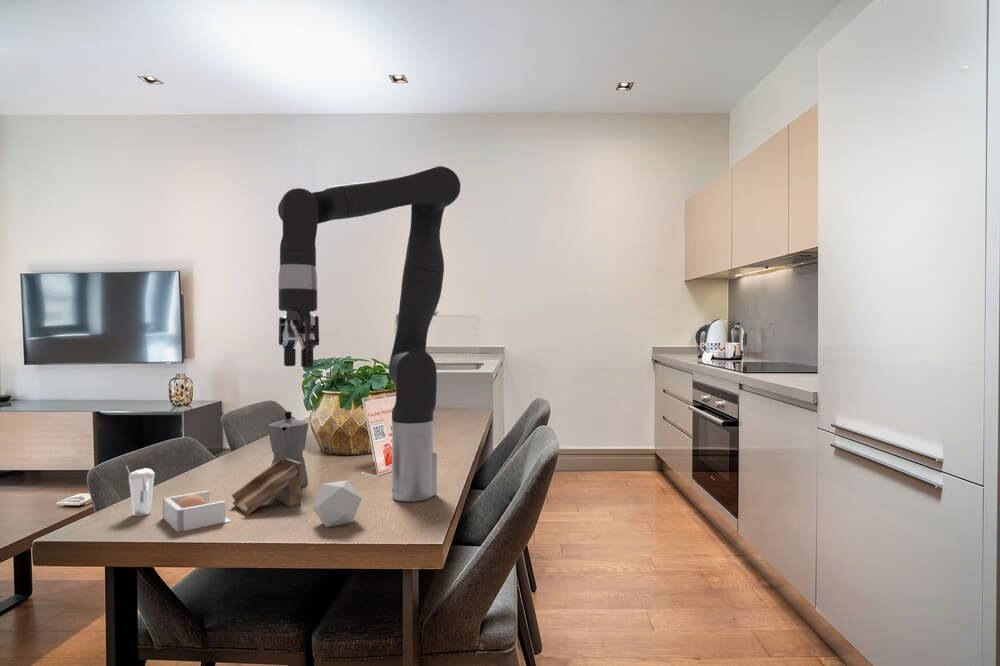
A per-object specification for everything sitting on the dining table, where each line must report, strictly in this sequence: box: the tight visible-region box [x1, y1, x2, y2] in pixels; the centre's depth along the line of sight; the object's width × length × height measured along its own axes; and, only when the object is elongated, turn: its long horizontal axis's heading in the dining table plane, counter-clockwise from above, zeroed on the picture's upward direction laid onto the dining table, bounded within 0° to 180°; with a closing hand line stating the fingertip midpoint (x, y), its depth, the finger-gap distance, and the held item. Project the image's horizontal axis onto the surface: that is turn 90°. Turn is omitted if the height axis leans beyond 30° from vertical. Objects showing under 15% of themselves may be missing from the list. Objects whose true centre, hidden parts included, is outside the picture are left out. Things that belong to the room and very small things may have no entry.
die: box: [312, 480, 362, 528], centre depth 112 cm, size 8×9×10 cm
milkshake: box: [125, 465, 155, 517], centre depth 118 cm, size 4×5×10 cm
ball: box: [178, 495, 206, 508], centre depth 113 cm, size 5×5×5 cm
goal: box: [162, 490, 227, 533], centre depth 114 cm, size 8×11×4 cm
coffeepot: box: [267, 410, 309, 488], centre depth 141 cm, size 15×9×18 cm, turn 12°
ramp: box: [231, 457, 302, 516], centre depth 123 cm, size 12×8×9 cm
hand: (298, 366), depth 118 cm, fingers open, 8 cm apart
